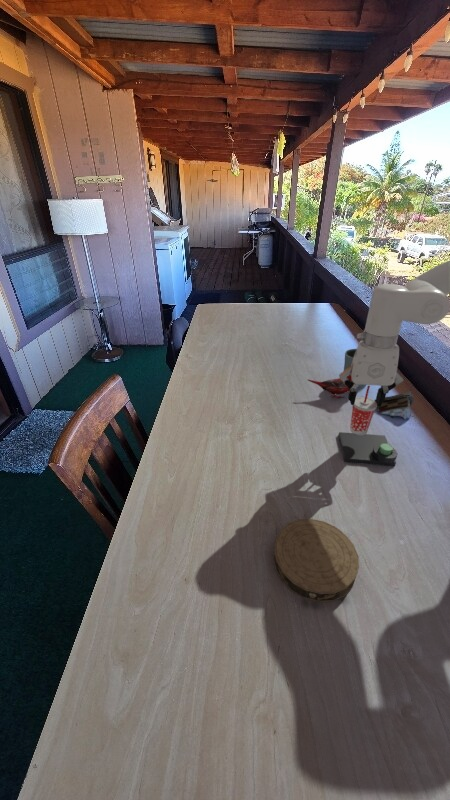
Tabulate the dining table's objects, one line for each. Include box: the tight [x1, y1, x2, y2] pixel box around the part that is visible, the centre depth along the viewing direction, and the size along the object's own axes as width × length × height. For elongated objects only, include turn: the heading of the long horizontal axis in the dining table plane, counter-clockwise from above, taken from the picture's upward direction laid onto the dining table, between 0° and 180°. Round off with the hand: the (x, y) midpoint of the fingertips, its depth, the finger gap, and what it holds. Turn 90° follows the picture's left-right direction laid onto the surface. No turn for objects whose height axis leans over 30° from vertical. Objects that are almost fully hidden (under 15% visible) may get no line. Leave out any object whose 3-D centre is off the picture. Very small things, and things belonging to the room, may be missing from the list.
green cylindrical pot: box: [343, 348, 367, 389], centre depth 130 cm, size 10×10×12 cm
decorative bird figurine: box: [307, 375, 352, 399], centre depth 121 cm, size 3×18×10 cm, turn 78°
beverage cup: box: [349, 385, 378, 435], centre depth 94 cm, size 6×6×14 cm
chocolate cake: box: [373, 391, 415, 420], centre depth 114 cm, size 10×7×12 cm
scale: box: [337, 431, 398, 467], centre depth 97 cm, size 13×12×3 cm
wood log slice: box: [273, 518, 360, 603], centre depth 68 cm, size 16×16×3 cm
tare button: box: [379, 443, 394, 455], centre depth 93 cm, size 3×3×2 cm
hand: (364, 402), depth 93 cm, fingers closed on beverage cup, 6 cm apart
